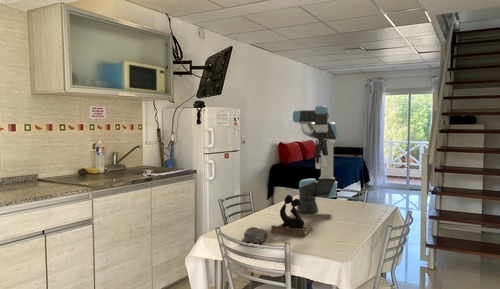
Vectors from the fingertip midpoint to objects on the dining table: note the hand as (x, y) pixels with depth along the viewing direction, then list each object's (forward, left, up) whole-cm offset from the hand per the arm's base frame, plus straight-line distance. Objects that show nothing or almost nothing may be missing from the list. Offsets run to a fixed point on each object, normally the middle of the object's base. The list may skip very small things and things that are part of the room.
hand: (321, 167), depth 222 cm
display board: (+18, -9, -37) cm, 42 cm away
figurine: (+18, -9, -35) cm, 41 cm away
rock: (+44, -15, -37) cm, 60 cm away
